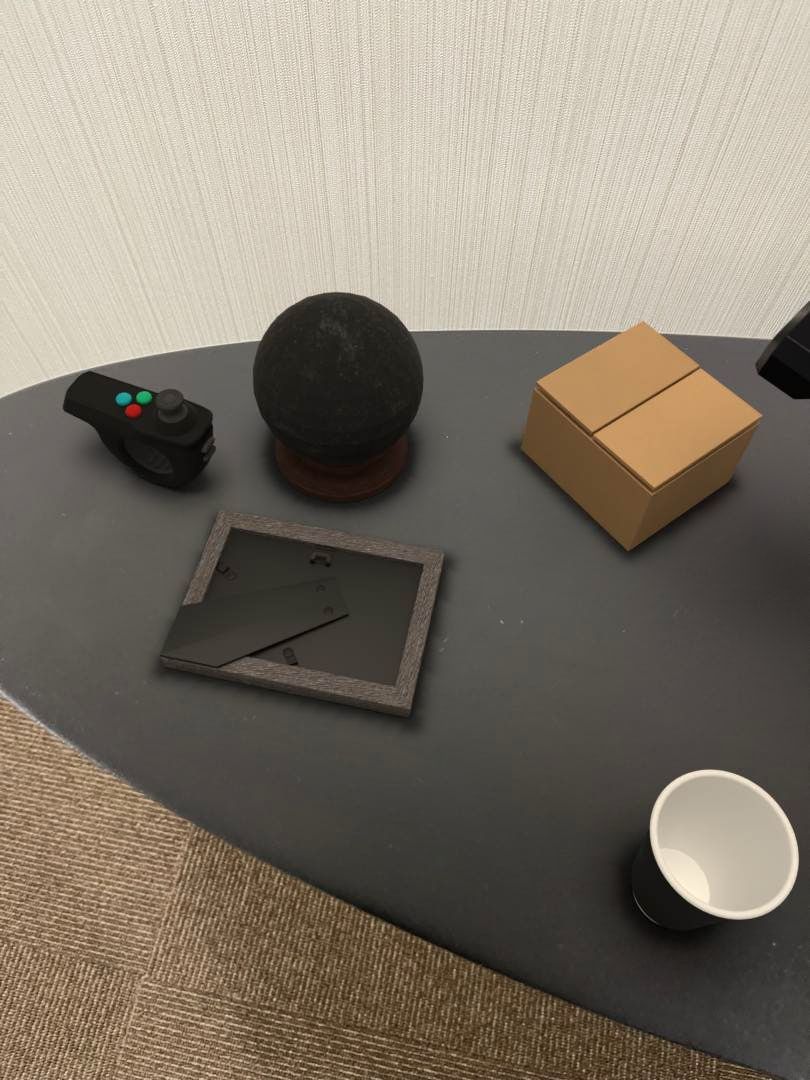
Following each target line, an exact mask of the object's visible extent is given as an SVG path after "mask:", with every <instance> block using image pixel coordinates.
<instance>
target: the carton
mask: <svg viewBox="0 0 810 1080" xmlns="http://www.w3.org/2000/svg"><path fill="white" fill-rule="evenodd" d="M699 369H700V364H698V363H697V362H696V361H694V360H693V359H692V358H691V357H690V356H688V355H687V354H686V353H684V352H683V350H681V349H679V347H677V346H676V345H674V344H673V343H672V342H671V341H670V340H669V339H667V338H666V337H664V336H663V335H662V334H660V332H658V331H657V330H656V329H654V328H653V327H652V326H650V325H649V323H647V322H645V321H644V320H642V321H640V322H638V323H636V324H635V325H633V326H631V327H629V328H628V329H627V330H624V331H622V332H621V333H619V334H617V335H615V336H614V337H612V338H610V339H609V340H606V341H605V342H603V343H601V344H600V345H598V346H596V347H595V348H593V349H591V350H589V351H588V352H585V353H583V354H582V355H580V356H579V357H577V358H575V359H574V360H572V361H570V362H568V363H566V364H564V365H562V366H561V367H560V368H558V369H556V370H554V371H553V372H550V373H549V374H547V375H546V376H544V377H541V378H540V379H539V380H537V381H536V382H535V387H533V389H532V394H531V401H530V404H529V408H528V414H527V419H526V423H525V426H524V427H525V428H524V432H523V437H522V441H521V446H520V450H521V451H522V452H523V453H524V454H526V456H527V457H528V458H530V460H531V461H532V462H534V464H535V465H537V466H538V467H539V469H541V470H542V471H543V472H544V473H545V474H546V475H547V476H548V477H549V478H551V479H552V481H554V483H556V484H557V486H559V487H560V488H561V489H562V490H563V491H564V492H565V493H566V494H567V495H568V496H569V497H571V499H573V501H575V503H576V504H577V505H579V506H580V508H582V510H584V511H585V512H586V513H588V515H589V516H590V517H591V518H592V519H594V521H595V522H596V523H598V524H599V526H601V527H602V528H603V529H604V530H605V531H606V532H607V533H608V534H609V535H610V536H611V537H612V538H613V539H614V540H616V542H617V543H619V544H620V545H621V546H622V547H623V548H624V549H625V550H626V551H627V552H629V551H631V550H633V549H634V548H636V547H637V546H639V544H642V543H643V542H644V541H646V540H647V539H648V538H650V537H652V535H654V534H656V533H657V532H659V531H660V530H661V529H663V528H664V527H666V526H667V525H668V524H670V523H671V522H673V521H674V520H676V519H677V518H679V517H680V516H682V515H683V514H684V513H686V512H687V511H688V510H690V509H692V508H693V507H695V506H696V505H697V504H699V503H700V502H701V501H703V500H704V499H706V498H707V497H709V496H710V495H711V494H713V493H714V492H716V491H717V490H719V489H720V488H721V487H723V486H724V485H726V484H728V483H729V482H730V480H731V478H732V476H733V475H734V473H735V471H736V469H737V468H738V466H739V464H740V461H741V459H742V458H743V456H744V454H745V452H746V450H747V448H748V446H749V444H750V443H751V441H752V439H753V437H754V435H755V433H756V431H757V429H758V427H759V426H760V424H761V422H760V421H759V420H758V421H757V422H755V423H754V424H752V425H751V426H749V427H748V428H746V429H745V430H743V431H742V432H740V433H739V434H737V435H736V436H735V437H733V438H732V439H730V440H729V441H727V442H726V443H724V444H723V445H721V446H720V447H718V448H717V449H715V450H714V451H712V452H711V453H709V454H708V455H706V456H705V457H703V458H702V459H700V460H699V461H697V462H696V463H694V464H693V465H691V466H690V467H688V468H687V469H685V470H684V471H682V472H681V473H679V474H678V475H676V476H675V477H673V478H672V479H670V480H669V481H667V482H666V483H664V484H663V485H661V486H660V487H658V488H657V489H655V490H654V491H653V490H652V489H651V488H650V487H648V486H647V485H646V484H645V483H644V482H643V481H641V480H640V479H639V478H638V477H637V476H636V475H635V474H633V473H632V472H631V471H630V470H629V469H628V468H627V467H625V466H624V465H623V464H622V463H621V462H620V461H619V460H617V459H616V458H615V457H614V456H613V455H612V454H611V453H609V452H608V451H607V450H606V449H605V448H604V447H603V446H601V445H600V444H599V443H598V442H597V441H596V440H594V439H593V435H594V434H595V433H597V432H598V431H600V430H602V429H603V428H605V427H607V426H608V425H610V424H611V423H613V422H615V421H616V420H618V419H620V418H621V417H623V416H624V415H626V414H628V413H629V412H631V411H632V410H634V409H636V408H637V407H639V406H641V405H642V404H644V403H645V402H647V401H649V400H650V399H652V398H654V397H655V396H657V395H658V394H660V393H662V392H663V391H665V390H666V389H668V388H670V387H671V386H673V385H675V384H676V383H678V382H679V381H681V380H683V379H684V378H686V377H688V376H689V375H691V374H692V373H694V372H696V371H697V370H699Z"/></svg>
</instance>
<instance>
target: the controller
mask: <svg viewBox="0 0 810 1080" xmlns="http://www.w3.org/2000/svg"><path fill="white" fill-rule="evenodd" d="M62 410H63V412H64V413H66V414H68V415H71V416H73V417H75V418H77V419H78V420H80V421H83V422H85V423H86V424H88V425H90V426H91V427H92V428H93V429H94V430H95V432H96V433H97V435H98V437H99V439H100V440H101V442H102V444H103V445H104V446H105V447H106V449H107V450H108V451H109V452H110V454H112V456H114V458H116V459H117V460H118V461H119V462H121V463H122V464H123V465H124V466H125V467H127V468H128V469H129V470H131V471H133V472H134V473H136V474H138V475H139V476H141V477H142V478H144V479H146V480H148V481H151V482H154V483H157V484H159V485H164V486H171V487H172V486H174V487H179V486H185V485H188V484H190V483H192V482H194V481H196V479H198V478H199V477H200V476H201V474H202V473H203V472H204V470H205V468H207V466H208V465H209V463H210V460H211V459H212V457H213V456H214V454H215V452H216V450H217V446H216V445H214V444H215V441H216V439H215V437H214V425H213V420H214V414H213V412H212V410H211V409H209V408H207V407H205V406H203V405H201V404H199V403H196V402H193V401H191V400H189V399H185V396H184V394H183V393H182V392H181V390H179V389H175V388H166V389H162V390H161V391H160V392H156V391H153V390H150V389H147V388H144V387H142V386H139V385H134V384H133V383H128V382H126V381H123V380H120V379H116V378H114V377H110V376H107V375H104V374H102V373H98V372H95V371H92V370H88V371H84V372H83V373H81V374H80V375H78V376H77V378H76V379H75V380H74V381H73V382H72V383H71V384H70V385H69V386H68V388H67V389H66V391H65V394H64V398H63V404H62Z"/></svg>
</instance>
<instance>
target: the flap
mask: <svg viewBox="0 0 810 1080" xmlns="http://www.w3.org/2000/svg"><path fill="white" fill-rule="evenodd" d="M762 418H763V414H761V413H760V412H759V411H758V410H756V409H755V408H754V407H753V406H751V404H748V403H747V402H746V401H744V399H742V398H740V397H739V396H738V395H737V394H735V392H733V391H731V390H730V389H729V388H728V387H726V386H725V385H724V384H722V383H721V382H720V381H718V380H717V379H716V378H714V377H713V376H712V375H711V374H709V373H708V372H706V370H704V369H702V368H700V367H699V369H697V370H696V372H694V373H692V374H691V375H689V376H688V377H686V378H684V379H683V380H681V381H679V382H678V383H676V384H675V385H673V386H671V387H670V388H668V389H666V390H665V391H663V392H662V393H660V394H658V395H657V396H655V397H654V398H652V399H650V400H649V401H647V402H645V403H644V404H642V405H641V406H639V407H637V408H636V409H634V410H632V411H631V412H629V413H628V414H626V415H624V416H623V417H621V418H620V419H618V420H616V421H615V422H613V423H611V424H610V425H608V426H607V427H605V428H603V429H602V430H600V431H598V432H597V433H595V434H594V435H593V439H594V440H596V441H597V442H598V443H599V444H600V445H601V446H603V447H604V448H605V449H606V450H607V451H608V452H609V453H611V454H612V455H613V456H614V457H615V458H616V459H617V460H619V461H620V462H621V463H622V464H623V465H624V466H625V467H627V468H628V469H629V470H630V471H631V472H632V473H633V474H635V475H636V476H637V477H638V478H639V479H640V480H641V481H643V482H644V483H645V484H646V485H647V486H648V487H650V488H651V489H652V490H653V491H654V490H655V489H657V488H658V487H660V486H661V485H663V484H664V483H666V482H667V481H669V480H670V479H672V478H673V477H675V476H676V475H678V474H679V473H681V472H682V471H684V470H685V469H687V468H688V467H690V466H691V465H693V464H694V463H696V462H697V461H699V460H700V459H702V458H703V457H705V456H706V455H708V454H709V453H711V452H712V451H714V450H715V449H717V448H718V447H720V446H721V445H723V444H724V443H726V442H727V441H729V440H730V439H732V438H733V437H735V436H736V435H737V434H739V433H740V432H742V431H743V430H745V429H746V428H748V427H749V426H751V425H752V424H754V423H755V422H757V421H758V422H759V421H760V420H761V419H762Z"/></svg>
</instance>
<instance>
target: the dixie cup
mask: <svg viewBox="0 0 810 1080" xmlns="http://www.w3.org/2000/svg"><path fill="white" fill-rule="evenodd" d="M799 855H800V854H799V845H798V842H797V838H796V834H795V832H794V829H793V826H792V824H791V822H790V821H789V818H788V817H787V815H786V813H785V812H784V810H783V809H782V807H781V806H780V805H779V804H778V803H777V801H776V800H775V799H774V798H773V797H772V796H771V795H770V794H769V793H768V792H767V791H766V790H764V789H763V788H762V787H761V786H759V785H758V784H757V783H755V782H753V781H752V780H750V779H748V778H746V777H744V776H741V775H739V774H737V773H734V772H730V771H726V770H721V769H701V770H700V769H699V770H694V771H691V772H688V773H685V774H682V775H680V776H679V777H677V778H675V779H673V780H672V781H670V783H669V784H667V786H665V788H664V789H663V790H662V791H661V793H660V794H659V795H658V797H657V798H656V801H655V802H654V805H653V808H652V811H651V814H650V819H649V828H648V830H647V832H646V835H645V837H644V839H643V841H642V844H641V845H640V848H639V850H638V853H637V854H636V856H635V859H634V861H633V863H632V867H631V871H630V885H631V889H632V894H633V897H634V900H635V903H636V904H637V906H638V908H639V909H640V911H641V912H642V913H643V914H644V915H645V916H646V917H647V918H648V919H649V920H650V921H652V922H653V923H655V924H656V925H659V926H661V927H663V928H665V929H669V930H673V931H678V932H679V931H680V932H681V931H682V932H683V931H690V930H695V929H698V928H702V927H706V926H710V925H713V924H717V923H720V922H721V923H722V922H724V921H729V920H749V919H755V918H758V917H762V916H764V915H766V914H768V913H770V912H772V911H773V910H775V909H776V908H778V907H779V906H780V905H781V904H782V903H783V902H784V901H785V900H786V899H787V898H788V896H789V895H790V893H791V891H792V889H793V887H794V886H795V884H796V880H797V876H798V872H799V863H800V856H799Z"/></svg>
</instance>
